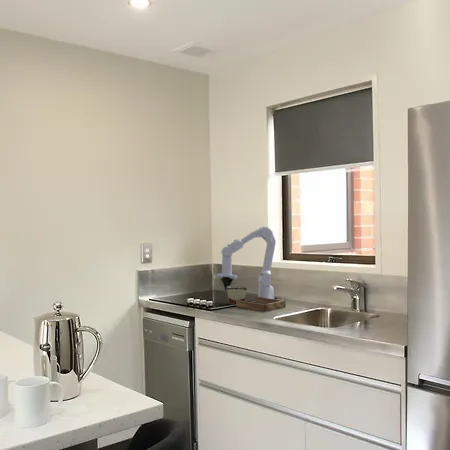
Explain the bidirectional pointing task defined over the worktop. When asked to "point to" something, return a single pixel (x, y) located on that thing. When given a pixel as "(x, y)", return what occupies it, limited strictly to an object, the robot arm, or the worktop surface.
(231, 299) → the food container
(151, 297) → the worktop surface
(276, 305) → the wooden tray
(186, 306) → the worktop surface
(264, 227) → the robot arm
